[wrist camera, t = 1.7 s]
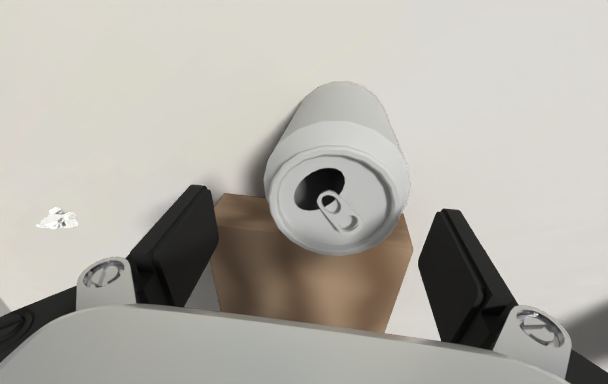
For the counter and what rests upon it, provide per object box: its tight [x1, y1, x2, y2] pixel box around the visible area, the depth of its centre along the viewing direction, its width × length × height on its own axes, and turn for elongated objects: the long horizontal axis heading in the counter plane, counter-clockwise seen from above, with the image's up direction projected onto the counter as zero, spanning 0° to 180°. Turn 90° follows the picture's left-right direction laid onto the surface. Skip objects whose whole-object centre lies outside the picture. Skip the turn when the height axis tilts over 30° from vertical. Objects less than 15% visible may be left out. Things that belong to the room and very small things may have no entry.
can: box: [263, 81, 411, 256], centre depth 18 cm, size 8×8×12 cm
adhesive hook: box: [36, 207, 79, 229], centre depth 32 cm, size 3×3×3 cm
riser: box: [210, 193, 414, 333], centre depth 29 cm, size 18×16×5 cm
